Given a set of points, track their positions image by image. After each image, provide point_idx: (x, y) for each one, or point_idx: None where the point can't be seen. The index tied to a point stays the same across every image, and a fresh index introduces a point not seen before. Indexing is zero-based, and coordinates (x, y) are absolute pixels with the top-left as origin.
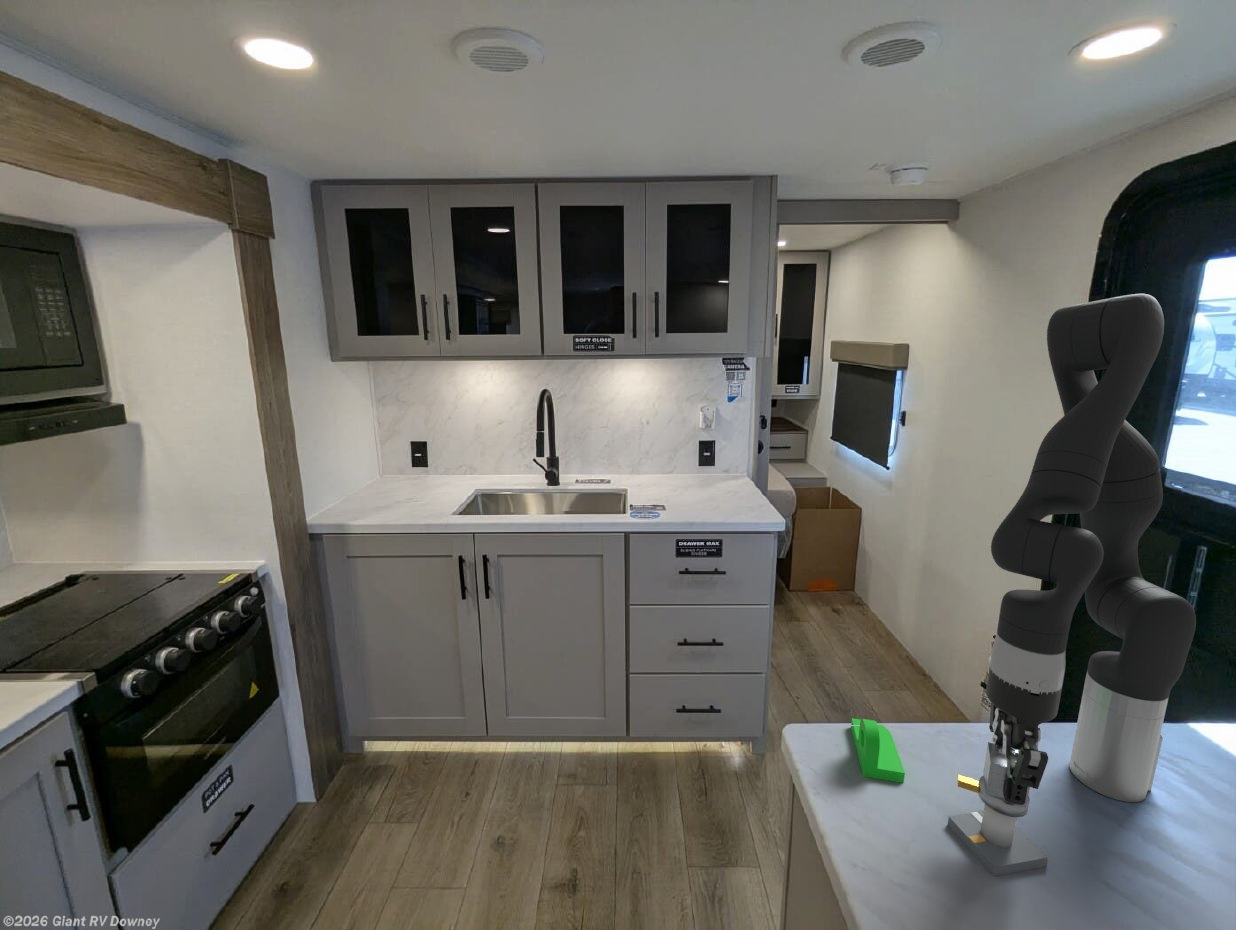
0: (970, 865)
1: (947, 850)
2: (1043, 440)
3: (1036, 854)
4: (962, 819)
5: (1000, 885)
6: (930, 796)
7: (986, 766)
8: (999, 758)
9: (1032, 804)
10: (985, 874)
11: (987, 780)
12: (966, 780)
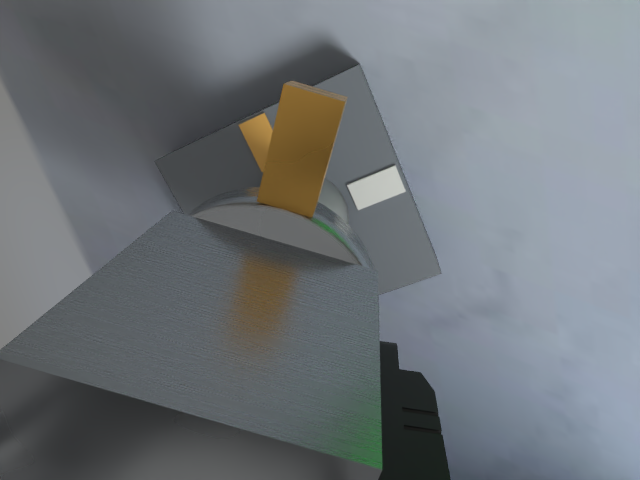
0: (190, 90)
1: (231, 24)
2: None
3: None
4: (351, 119)
5: (145, 161)
6: (513, 36)
7: (271, 305)
8: (106, 464)
9: (513, 388)
10: (170, 129)
11: (133, 253)
12: (295, 140)
